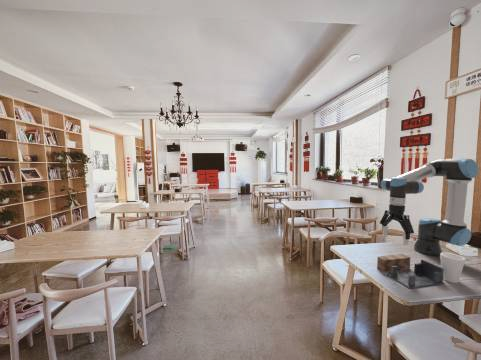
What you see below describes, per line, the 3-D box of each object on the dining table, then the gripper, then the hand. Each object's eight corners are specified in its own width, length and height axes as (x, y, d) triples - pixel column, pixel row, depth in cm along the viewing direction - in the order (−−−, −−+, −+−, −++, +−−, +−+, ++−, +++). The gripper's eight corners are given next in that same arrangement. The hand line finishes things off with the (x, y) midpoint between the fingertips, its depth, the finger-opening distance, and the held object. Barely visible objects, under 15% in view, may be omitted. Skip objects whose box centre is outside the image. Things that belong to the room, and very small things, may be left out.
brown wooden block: (401, 265, 135) (402, 253, 135) (409, 268, 131) (410, 257, 130) (377, 268, 131) (377, 256, 131) (384, 272, 127) (384, 260, 126)
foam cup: (465, 286, 112) (467, 261, 111) (441, 281, 117) (442, 257, 116) (459, 278, 120) (461, 254, 119) (437, 273, 125) (438, 251, 124)
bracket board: (419, 271, 127) (420, 258, 126) (444, 283, 114) (446, 269, 114) (387, 275, 122) (387, 262, 122) (409, 288, 110) (410, 273, 109)
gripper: (374, 200, 139) (372, 233, 141) (412, 209, 115) (409, 249, 117) (384, 200, 141) (382, 233, 143) (424, 208, 117) (421, 247, 118)
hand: (394, 240), depth 130 cm, fingers open, 13 cm apart
